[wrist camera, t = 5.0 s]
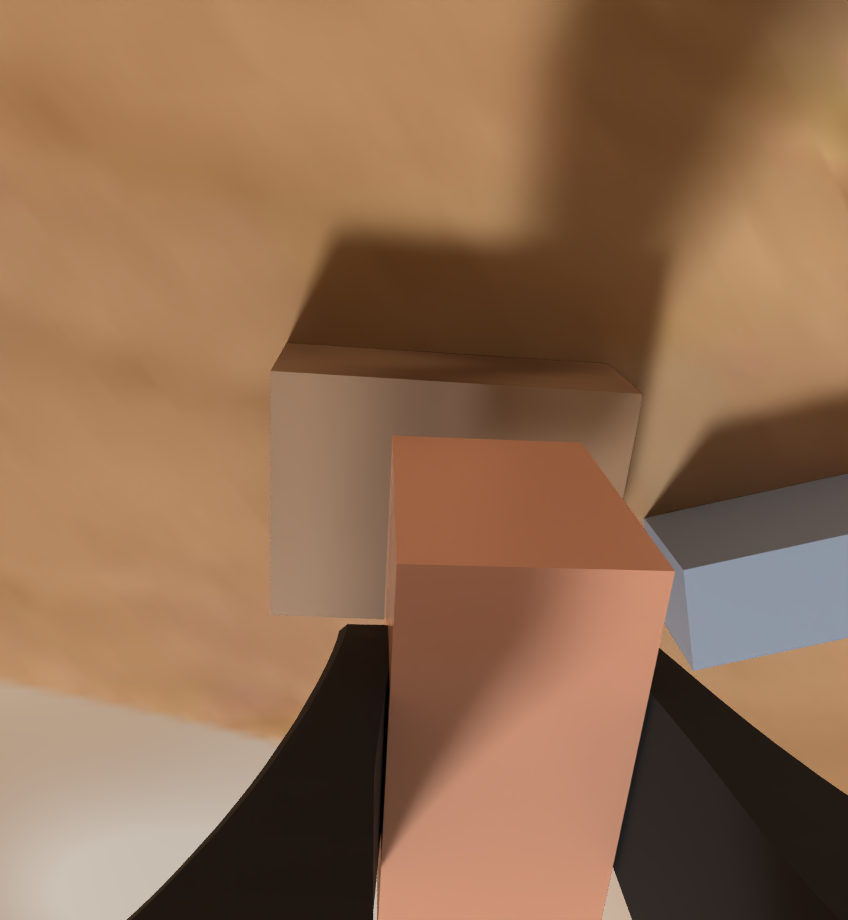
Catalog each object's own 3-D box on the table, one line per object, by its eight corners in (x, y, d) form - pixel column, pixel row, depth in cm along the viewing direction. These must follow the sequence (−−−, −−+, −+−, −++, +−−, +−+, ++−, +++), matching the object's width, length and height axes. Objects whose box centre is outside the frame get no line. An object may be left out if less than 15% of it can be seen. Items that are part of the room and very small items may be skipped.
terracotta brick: (581, 442, 12) (675, 571, 8) (537, 741, 14) (594, 951, 10) (392, 435, 11) (396, 563, 8) (378, 739, 14) (376, 954, 10)
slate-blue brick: (857, 467, 20) (934, 515, 17) (857, 561, 21) (930, 620, 18) (641, 515, 20) (683, 570, 17) (652, 605, 21) (693, 670, 18)
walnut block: (605, 360, 19) (643, 394, 16) (569, 565, 21) (597, 627, 18) (288, 339, 18) (270, 371, 15) (286, 553, 20) (270, 615, 17)
